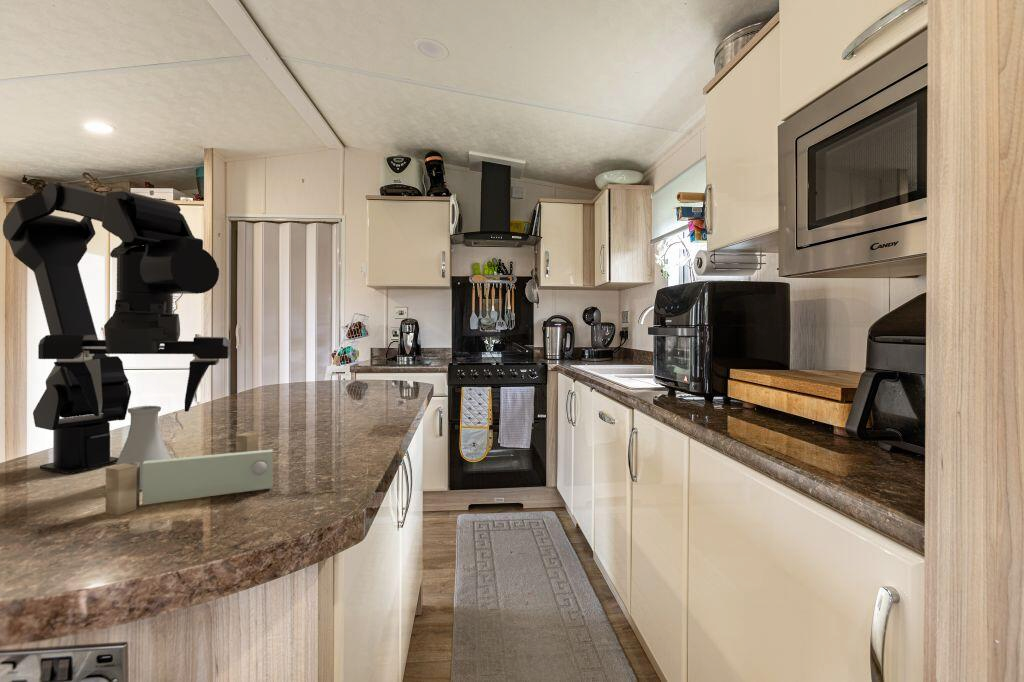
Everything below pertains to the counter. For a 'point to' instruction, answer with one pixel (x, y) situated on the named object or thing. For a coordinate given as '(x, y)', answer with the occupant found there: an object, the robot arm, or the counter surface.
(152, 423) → the flask
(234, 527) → the counter surface
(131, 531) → the counter surface
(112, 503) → the door frame
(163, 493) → the door
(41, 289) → the robot arm
